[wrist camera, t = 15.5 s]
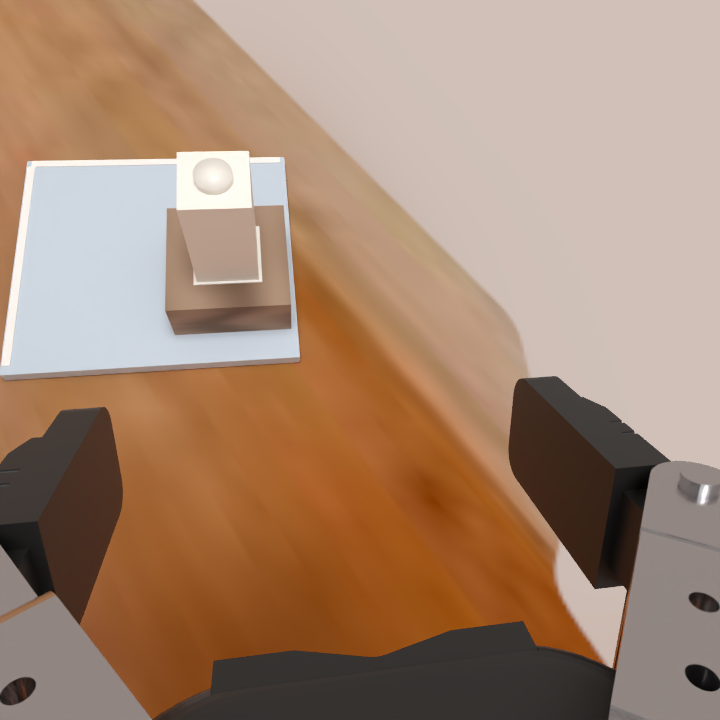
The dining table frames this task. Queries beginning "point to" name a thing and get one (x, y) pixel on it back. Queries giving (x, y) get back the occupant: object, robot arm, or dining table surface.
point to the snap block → (218, 214)
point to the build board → (139, 277)
